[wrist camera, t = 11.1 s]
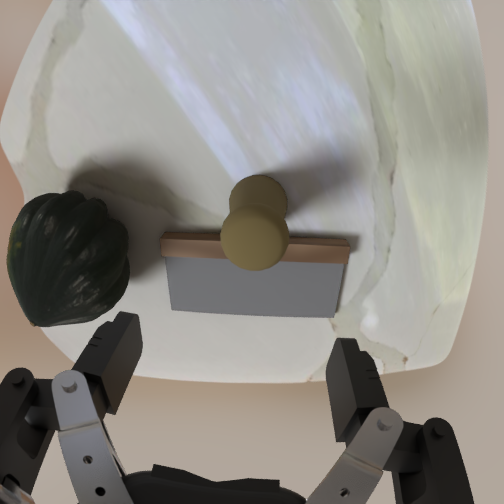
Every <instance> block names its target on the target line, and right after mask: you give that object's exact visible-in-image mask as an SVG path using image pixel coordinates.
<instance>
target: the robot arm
mask: <svg viewBox="0 0 504 504" xmlns="http://www.w3.org/2000/svg"><path fill="white" fill-rule="evenodd" d="M142 348H143V342H142V335H141V328H140V321H139V316H138V315H137V314H133V313H128V312H122V311H120V312H119V313H118V314H117V316H116V317H115V319H114V321H113V322H110V321H107V322H105V323H104V324H102V325H101V326H100V327H98V329H97V330H96V332H95V333H94V335H93V337H92V338H91V339H90V341H89V342H88V345H86V347H85V349H84V350H83V352H82V353H81V355H80V356H79V358H78V360H77V361H76V363H75V365H74V366H73V368H72V369H71V370H66V371H63V372H61V373H59V374H58V375H56V376H55V378H54V379H35V378H34V376H33V374H32V373H31V372H30V370H28V369H26V368H16V369H13V370H11V371H10V372H9V373H8V374H7V375H6V376H5V378H4V379H3V381H2V382H1V384H0V504H35V502H34V500H33V499H32V497H31V493H32V490H33V487H34V484H35V481H36V478H37V476H38V473H39V470H40V467H41V465H42V462H43V459H44V457H45V454H46V452H47V449H48V447H49V444H50V442H51V440H52V437H53V435H54V432H55V430H57V431H58V438H59V442H60V446H61V449H62V453H63V456H64V460H65V463H66V466H67V470H68V473H69V476H70V479H71V482H72V485H73V487H74V490H75V493H76V496H77V498H78V501H79V503H78V504H366V502H367V500H368V499H369V497H370V495H371V494H372V492H373V491H374V489H375V487H376V486H377V484H378V482H379V480H380V479H381V477H382V475H383V471H382V470H386V471H391V472H392V478H393V485H394V492H395V499H396V504H474V501H473V496H472V492H471V488H470V484H469V480H468V477H467V473H466V470H465V466H464V463H463V459H462V456H461V453H460V449H459V446H458V443H457V440H456V437H455V434H454V431H453V429H452V427H451V425H450V424H449V423H448V422H447V421H446V420H444V419H441V418H431V419H429V420H427V421H426V422H425V424H424V425H420V424H414V423H409V422H405V421H403V420H402V418H401V416H400V415H399V414H398V413H397V412H396V411H394V410H393V409H390V408H389V405H388V402H387V398H386V395H385V392H384V389H383V386H382V383H381V381H380V379H379V378H380V377H379V374H378V372H377V368H376V365H375V362H374V360H373V359H372V357H371V356H370V355H369V354H368V353H367V352H366V351H360V349H359V346H358V343H357V340H356V339H355V338H337V339H336V341H335V343H334V346H333V349H332V352H331V355H330V358H329V360H328V363H327V367H326V381H327V386H328V392H329V399H330V405H331V411H332V418H333V424H334V430H335V438H336V442H345V443H346V449H345V451H344V452H343V454H342V455H341V456H340V458H339V459H338V461H337V462H336V463H335V465H334V466H333V467H332V469H331V470H330V471H329V473H328V474H327V475H326V477H325V478H324V479H323V480H322V482H321V483H320V484H319V486H318V487H317V488H316V489H315V490H314V492H313V493H312V494H311V495H310V496H309V498H308V499H307V500H306V499H305V498H304V497H302V496H301V495H299V494H298V493H295V492H293V491H291V490H288V489H286V488H282V487H280V486H279V484H280V483H279V481H280V480H270V479H252V478H247V479H239V480H230V481H221V482H214V481H211V480H208V479H205V478H202V477H200V476H197V475H195V474H192V473H190V472H187V471H185V470H180V469H175V468H170V467H166V466H161V465H156V464H154V465H153V468H152V471H140V472H135V473H131V474H128V475H127V474H126V472H125V470H124V468H123V466H122V464H121V462H120V460H119V458H118V456H117V453H116V451H115V448H114V446H113V444H112V441H111V439H110V436H109V434H108V431H107V428H106V426H105V423H104V421H103V419H104V417H105V414H106V413H109V414H113V415H115V414H116V412H117V410H118V407H119V405H120V403H121V400H122V398H123V395H124V393H125V391H126V388H127V386H128V384H129V381H130V379H131V377H132V375H133V372H134V370H135V368H136V365H137V363H138V361H139V359H140V356H141V353H142Z"/></svg>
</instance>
